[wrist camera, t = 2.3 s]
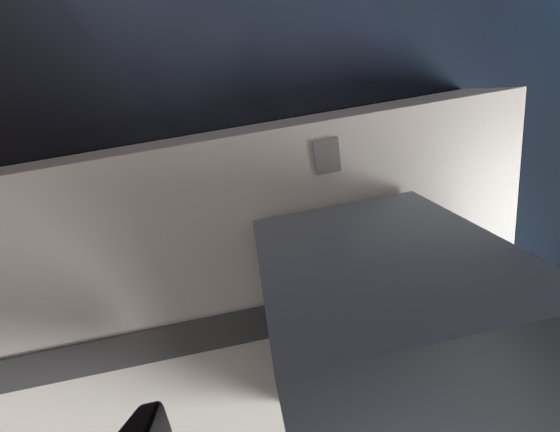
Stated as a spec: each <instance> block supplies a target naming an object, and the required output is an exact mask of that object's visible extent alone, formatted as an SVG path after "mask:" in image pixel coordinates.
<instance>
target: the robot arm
mask: <svg viewBox="0 0 560 432" xmlns="http://www.w3.org/2000/svg"><path fill="white" fill-rule="evenodd" d="M118 432H172V429H171V426H170V423H169V420H168V417H167V414H166V411H165V409H164V406H163V404H162V403H161V402H160V401H154V402H150V403H145V404H142V405H140V406H139V407H138V408H137V409H136V410H135V411H134V413H133V414H132V415H131V416H130V418H129V419H128V420H127V421H126V422H125V424H124V425H123V426H122V427H121V429H120V430H119V431H118Z"/></svg>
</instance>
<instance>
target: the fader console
mask: <svg viewBox="0 0 560 432" xmlns="http://www.w3.org/2000/svg"><path fill="white" fill-rule="evenodd" d="M525 99H526V87H501V88H476V89H460V90H454V91H448V92H442V93H436V94H430V95H424V96H418V97H412V98H406V99H400V100H394V101H389V102H383V103H377V104H371V105H365V106H359V107H353V108H347V109H341V110H335V111H329V112H323V113H317V114H311V115H305V116H299V117H294V118H288V119H282V120H276V121H270V122H264V123H258V124H252V125H246V126H240V127H234V128H228V129H222V130H216V131H210V132H204V133H199V134H193V135H187V136H181V137H175V138H169V139H163V140H157V141H151V142H145V143H139V144H133V145H127V146H121V147H115V148H109V149H104V150H98V151H92V152H86V153H80V154H74V155H68V156H62V157H56V158H50V159H44V160H38V161H32V162H26V163H20V164H14V165H9V166H3V167H0V432H118V431H119V430H120V429H121V427H122V426H123V425H124V424H125V422H126V421H127V420H128V419H129V418H130V416H131V415H132V414H133V413H134V411H135V410H136V409H137V408H138V407H139V406H140V405H142V404H145V403H150V402H154V401H160V402H161V403H162V404H163V406H164V409H165V411H166V414H167V417H168V420H169V423H170V426H171V429H172V432H285V427H284V422H283V417H282V412H281V407H280V402H279V397H278V392H277V387H276V382H275V377H274V370H273V362H272V355H271V348H270V341H269V334H268V327H267V320H266V313H265V306H264V299H263V291H262V284H261V277H260V270H259V263H258V256H257V249H256V242H255V235H254V228H253V221H254V220H259V219H265V218H270V217H275V216H281V215H286V214H291V213H297V212H302V211H308V210H313V209H318V208H324V207H329V206H334V205H340V204H345V203H351V202H356V201H361V200H367V199H372V198H377V197H383V196H388V195H393V194H399V193H404V192H410V191H413V192H415V193H417V194H419V195H421V196H423V197H425V198H427V199H429V200H430V201H432V202H434V203H436V204H438V205H440V206H442V207H444V208H446V209H448V210H450V211H451V212H453V213H455V214H457V215H459V216H461V217H463V218H465V219H467V220H469V221H471V222H472V223H474V224H476V225H478V226H480V227H482V228H484V229H486V230H488V231H490V232H491V233H493V234H495V235H497V236H499V237H501V238H503V239H505V240H507V241H509V242H511V243H512V244H514V238H515V225H516V213H517V200H518V187H519V175H520V162H521V149H522V137H523V124H524V112H525Z"/></svg>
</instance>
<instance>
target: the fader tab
mask: <svg viewBox="0 0 560 432" xmlns="http://www.w3.org/2000/svg"><path fill="white" fill-rule="evenodd" d="M253 228H254V235H255V242H256V249H257V256H258V263H259V270H260V277H261V284H262V291H263V299H264V306H265V313H266V320H267V327H268V334H269V341H270V348H271V355H272V362H273V370H274V377H275V382H276V387H277V392H278V397H279V402H280V407H281V412H282V417H283V422H284V427H285V432H560V268H558V267H556V266H554V265H552V264H551V263H549V262H547V261H545V260H543V259H541V258H539V257H537V256H535V255H533V254H532V253H530V252H528V251H526V250H524V249H522V248H520V247H518V246H516V245H514V244H512V243H511V242H509V241H507V240H505V239H503V238H501V237H499V236H497V235H495V234H493V233H491V232H490V231H488V230H486V229H484V228H482V227H480V226H478V225H476V224H474V223H472V222H471V221H469V220H467V219H465V218H463V217H461V216H459V215H457V214H455V213H453V212H451V211H450V210H448V209H446V208H444V207H442V206H440V205H438V204H436V203H434V202H432V201H430V200H429V199H427V198H425V197H423V196H421V195H419V194H417V193H415V192H413V191H410V192H404V193H399V194H393V195H388V196H383V197H377V198H372V199H367V200H361V201H356V202H351V203H345V204H340V205H334V206H329V207H324V208H318V209H313V210H308V211H302V212H297V213H291V214H286V215H281V216H275V217H270V218H265V219H259V220H254V221H253Z"/></svg>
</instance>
